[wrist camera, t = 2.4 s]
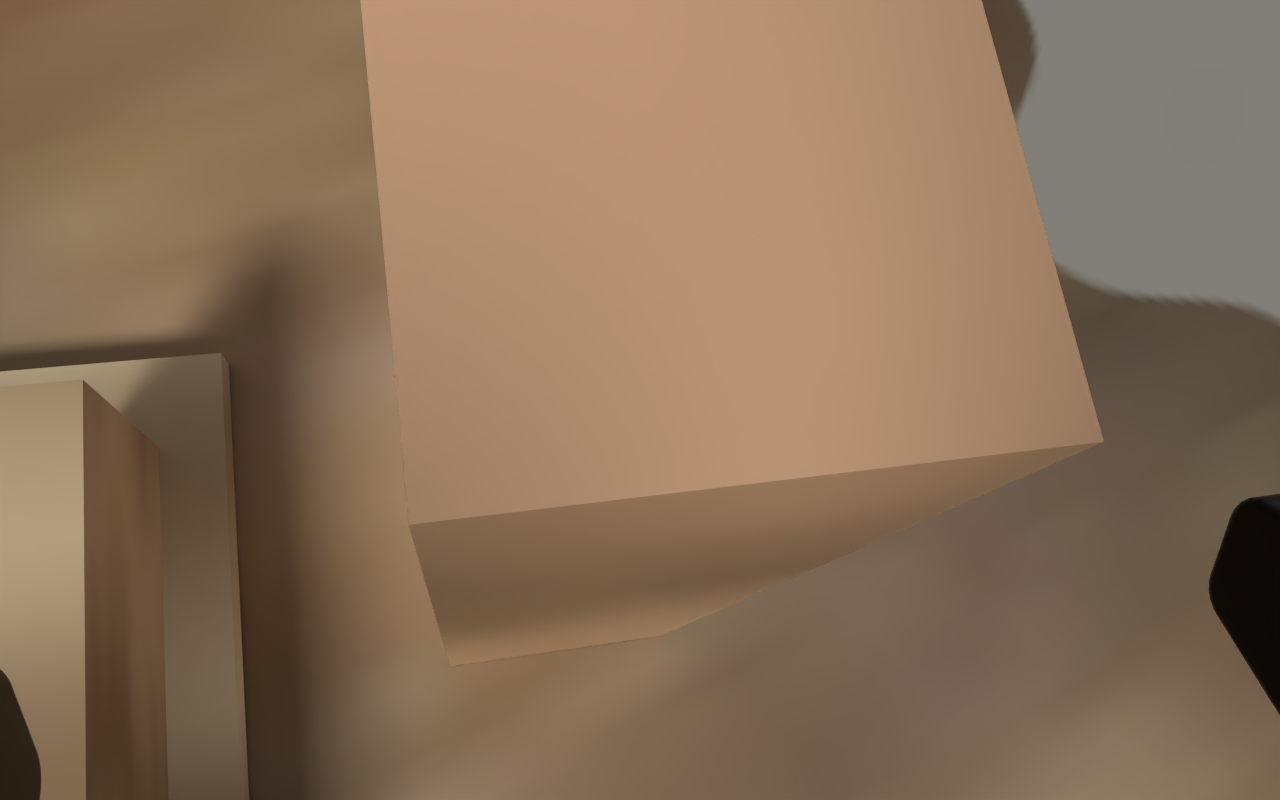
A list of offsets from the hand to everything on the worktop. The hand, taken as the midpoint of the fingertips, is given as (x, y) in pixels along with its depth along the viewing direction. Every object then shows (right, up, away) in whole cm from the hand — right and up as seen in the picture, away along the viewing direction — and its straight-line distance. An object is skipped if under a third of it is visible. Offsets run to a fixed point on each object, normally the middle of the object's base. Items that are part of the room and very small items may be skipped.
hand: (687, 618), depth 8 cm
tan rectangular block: (-2, 0, +10) cm, 11 cm away
